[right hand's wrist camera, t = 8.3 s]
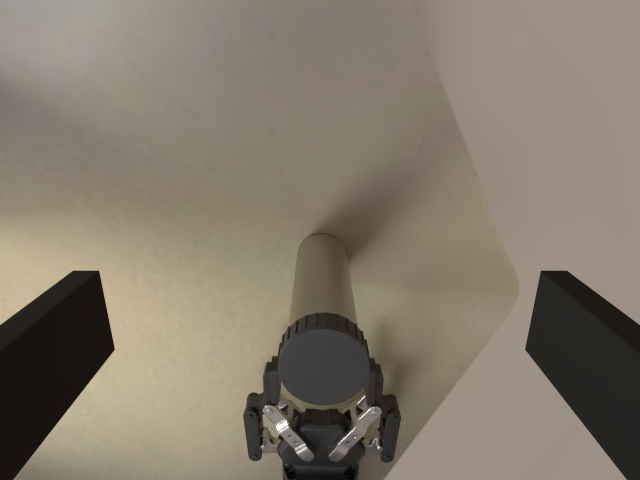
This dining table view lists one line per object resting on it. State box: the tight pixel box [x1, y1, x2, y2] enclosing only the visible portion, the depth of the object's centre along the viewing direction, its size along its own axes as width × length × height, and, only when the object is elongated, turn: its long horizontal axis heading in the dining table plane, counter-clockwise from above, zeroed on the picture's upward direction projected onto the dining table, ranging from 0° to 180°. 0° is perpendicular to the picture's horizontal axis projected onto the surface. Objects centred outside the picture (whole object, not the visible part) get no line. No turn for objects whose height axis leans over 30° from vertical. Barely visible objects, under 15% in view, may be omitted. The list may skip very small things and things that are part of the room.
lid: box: [277, 312, 370, 405], centre depth 25 cm, size 5×6×2 cm
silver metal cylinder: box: [288, 234, 358, 327], centre depth 32 cm, size 5×5×16 cm
